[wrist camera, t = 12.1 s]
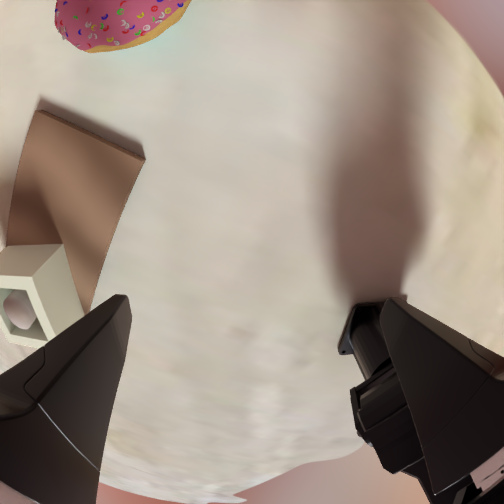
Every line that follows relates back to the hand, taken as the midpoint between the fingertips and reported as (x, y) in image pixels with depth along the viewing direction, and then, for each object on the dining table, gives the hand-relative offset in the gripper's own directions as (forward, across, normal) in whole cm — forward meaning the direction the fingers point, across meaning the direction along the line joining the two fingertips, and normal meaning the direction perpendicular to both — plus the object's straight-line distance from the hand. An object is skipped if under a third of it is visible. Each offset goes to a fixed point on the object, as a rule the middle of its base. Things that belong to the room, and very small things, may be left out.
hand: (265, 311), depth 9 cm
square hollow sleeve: (+11, +17, +7) cm, 22 cm away
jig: (+12, +15, +2) cm, 19 cm away
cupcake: (+12, +8, -14) cm, 20 cm away
